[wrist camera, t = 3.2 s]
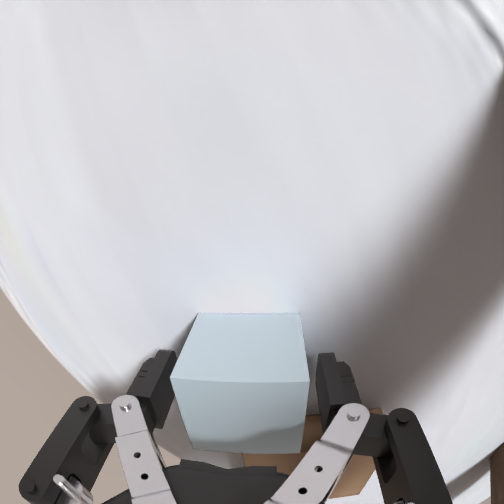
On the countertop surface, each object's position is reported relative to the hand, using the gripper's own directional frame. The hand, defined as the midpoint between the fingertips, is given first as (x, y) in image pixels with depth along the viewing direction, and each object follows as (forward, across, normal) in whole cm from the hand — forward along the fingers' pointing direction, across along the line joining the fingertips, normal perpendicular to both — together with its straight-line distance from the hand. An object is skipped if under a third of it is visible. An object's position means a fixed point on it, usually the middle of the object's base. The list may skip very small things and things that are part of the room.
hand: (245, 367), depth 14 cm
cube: (+1, 0, 0) cm, 1 cm away
